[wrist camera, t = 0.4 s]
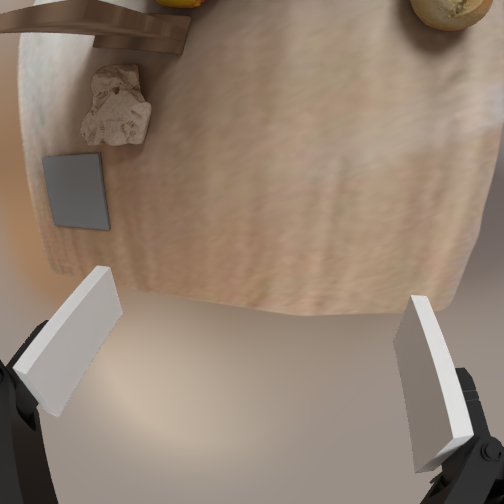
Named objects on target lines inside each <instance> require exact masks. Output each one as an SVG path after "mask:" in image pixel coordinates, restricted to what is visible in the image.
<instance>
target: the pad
mask: <svg viewBox="0 0 504 504" xmlns="http://www.w3.org/2000/svg"><path fill="white" fill-rule="evenodd" d="M42 161H43V168H44V174H45V180H46V186H47V191H48V196H49V201H50V206H51V211H52V215H53V220H54V224H55V225H59V226H70V227H81V228H92V229H102V230H110V229H111V227H110V221H109V215H108V209H107V202H106V195H105V188H104V181H103V173H102V164H101V154H100V153H89V154H73V155H60V156H48V157H43V158H42Z"/></svg>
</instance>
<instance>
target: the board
mask: <svg viewBox="0 0 504 504" xmlns="http://www.w3.org/2000/svg"><path fill="white" fill-rule="evenodd" d="M191 20H192V18H191V17H188V16H178V15H165V14H147V13H140V12H137V11H134V10H131V9H128V8H124V7H121V6H117V5H114V4H110V3H107V2H103V1H99V0H66V1H59V2H53V3H47V4H42V5H37V6H32V7H28V8H23V9H19V10H14V11H10V12H7V13H3V14H0V33H24V32H42V33H68V34H83V35H94V36H95V39H94V43H93V47H97V48H121V49H135V50H147V51H156V52H165V53H173V54H180V55H182V53H183V49H184V45H185V41H186V38H187V34H188V31H189V27H190V24H191Z"/></svg>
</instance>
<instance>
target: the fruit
mask: <svg viewBox="0 0 504 504" xmlns="http://www.w3.org/2000/svg"><path fill="white" fill-rule="evenodd" d="M155 1H156V2H157V3H159V4H161V5H163V6H166V7H173V8H195V7H199V6H201V3H202V2H204V1H205V0H155Z"/></svg>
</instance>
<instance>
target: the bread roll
mask: <svg viewBox="0 0 504 504" xmlns="http://www.w3.org/2000/svg"><path fill="white" fill-rule="evenodd" d="M410 2H411V5H412V8H413V10H414V12H415V13H416V15H417V16H418V17H419V18H420V20H421V21H422V22H424V23H425V25H427V26H429V27H432V28H435V29H439V30H444V31H457V30H463V29H465V28H467V27H469V26H471V25H474V24H476V23H477V22H478V21H479V20H481V19H482V18H483V17H484V16H485V15H486V13H487V12H488V11H489V9H490V7H491V4H492V2H493V0H410Z"/></svg>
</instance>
